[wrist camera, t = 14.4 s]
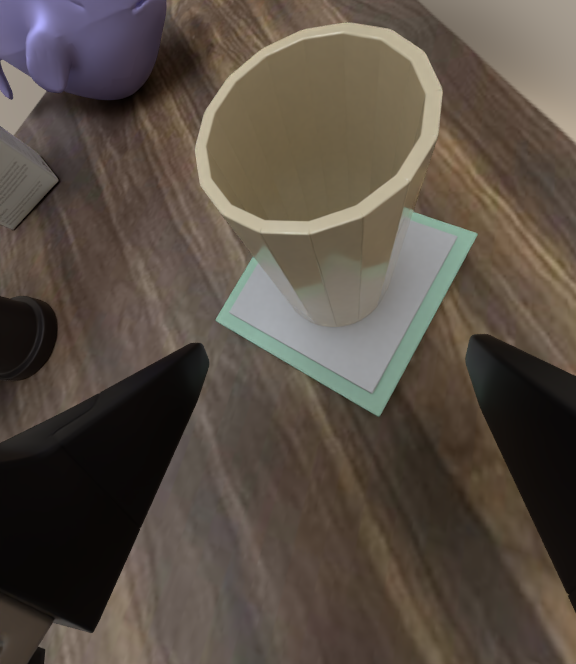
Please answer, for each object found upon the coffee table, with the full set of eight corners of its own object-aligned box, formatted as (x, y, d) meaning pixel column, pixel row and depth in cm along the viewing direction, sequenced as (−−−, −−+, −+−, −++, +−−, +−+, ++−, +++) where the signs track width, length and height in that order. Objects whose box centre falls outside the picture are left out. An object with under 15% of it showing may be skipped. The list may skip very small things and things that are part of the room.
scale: (467, 246, 19) (485, 223, 16) (376, 414, 18) (380, 418, 16) (307, 190, 23) (301, 164, 20) (227, 326, 22) (210, 318, 20)
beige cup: (382, 333, 17) (428, 239, 6) (276, 320, 18) (172, 229, 8) (394, 232, 18) (452, 3, 7) (293, 228, 19) (222, 41, 9)
